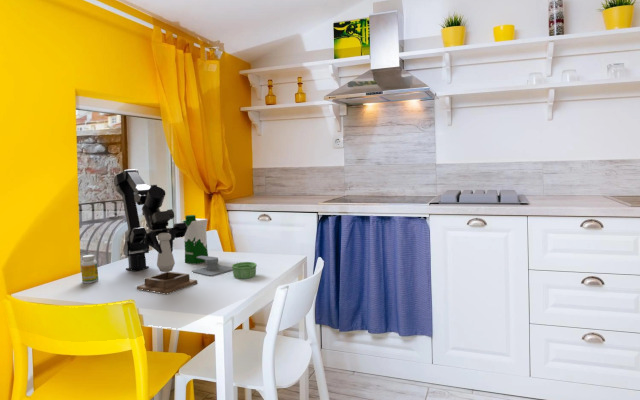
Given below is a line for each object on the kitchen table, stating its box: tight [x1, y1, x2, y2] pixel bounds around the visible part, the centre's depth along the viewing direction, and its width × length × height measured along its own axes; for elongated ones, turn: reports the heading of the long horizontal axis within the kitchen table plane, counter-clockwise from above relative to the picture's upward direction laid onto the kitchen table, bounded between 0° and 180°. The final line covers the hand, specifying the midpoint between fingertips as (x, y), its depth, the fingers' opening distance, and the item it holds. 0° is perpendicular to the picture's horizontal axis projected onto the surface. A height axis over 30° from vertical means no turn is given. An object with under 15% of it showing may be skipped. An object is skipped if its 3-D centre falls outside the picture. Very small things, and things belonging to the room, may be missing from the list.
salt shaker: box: [156, 233, 176, 273], centre depth 158 cm, size 6×6×13 cm
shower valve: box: [191, 255, 233, 277], centre depth 179 cm, size 12×6×15 cm
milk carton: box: [180, 214, 209, 265], centre depth 194 cm, size 9×9×20 cm
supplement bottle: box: [80, 254, 99, 284], centre depth 168 cm, size 5×5×10 cm
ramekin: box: [231, 261, 257, 280], centre depth 169 cm, size 9×9×4 cm
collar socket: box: [136, 271, 198, 295], centre depth 159 cm, size 14×14×4 cm
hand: (166, 252), depth 157 cm, fingers closed on salt shaker, 3 cm apart
